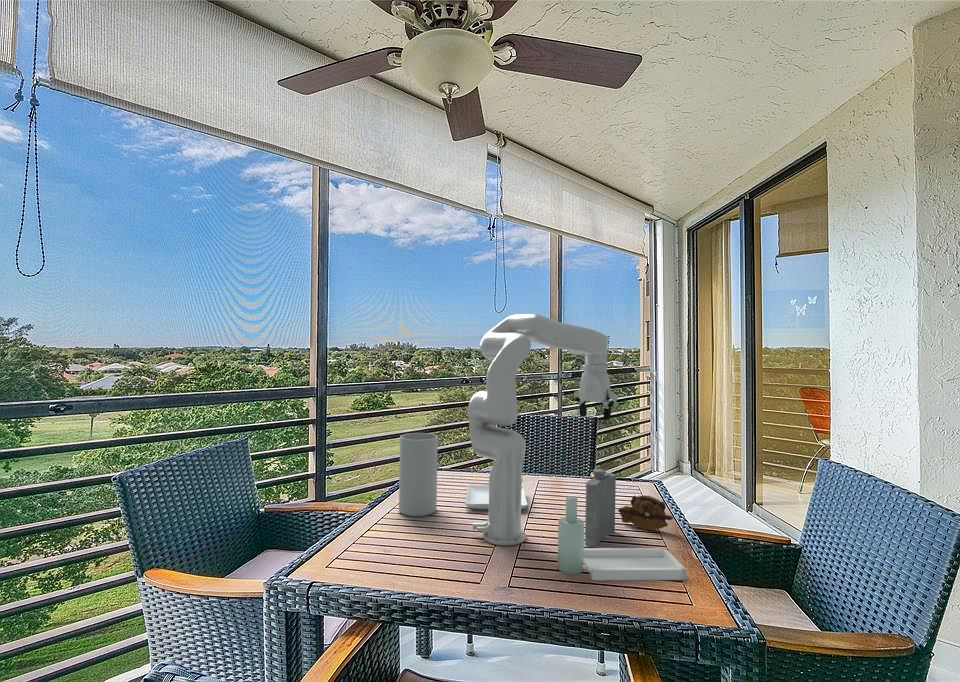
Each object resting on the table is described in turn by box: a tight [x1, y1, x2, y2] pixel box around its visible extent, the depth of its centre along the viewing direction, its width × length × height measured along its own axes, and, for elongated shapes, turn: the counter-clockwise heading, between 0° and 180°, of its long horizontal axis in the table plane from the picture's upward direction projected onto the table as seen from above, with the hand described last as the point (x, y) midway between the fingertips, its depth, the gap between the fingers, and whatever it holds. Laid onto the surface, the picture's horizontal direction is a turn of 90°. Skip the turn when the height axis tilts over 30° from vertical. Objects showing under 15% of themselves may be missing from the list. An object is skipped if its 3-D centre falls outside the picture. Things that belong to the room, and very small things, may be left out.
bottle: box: [557, 495, 585, 575], centre depth 130 cm, size 6×6×18 cm
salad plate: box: [464, 484, 529, 511], centre depth 181 cm, size 21×21×3 cm
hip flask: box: [584, 468, 617, 548], centre depth 150 cm, size 16×4×20 cm, turn 142°
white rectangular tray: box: [583, 547, 688, 581], centre depth 130 cm, size 23×13×2 cm, turn 93°
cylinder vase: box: [398, 432, 439, 518], centre depth 171 cm, size 12×12×25 cm
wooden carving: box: [618, 495, 675, 531], centre depth 158 cm, size 16×5×10 cm, turn 64°
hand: (594, 418), depth 178 cm, fingers open, 9 cm apart
